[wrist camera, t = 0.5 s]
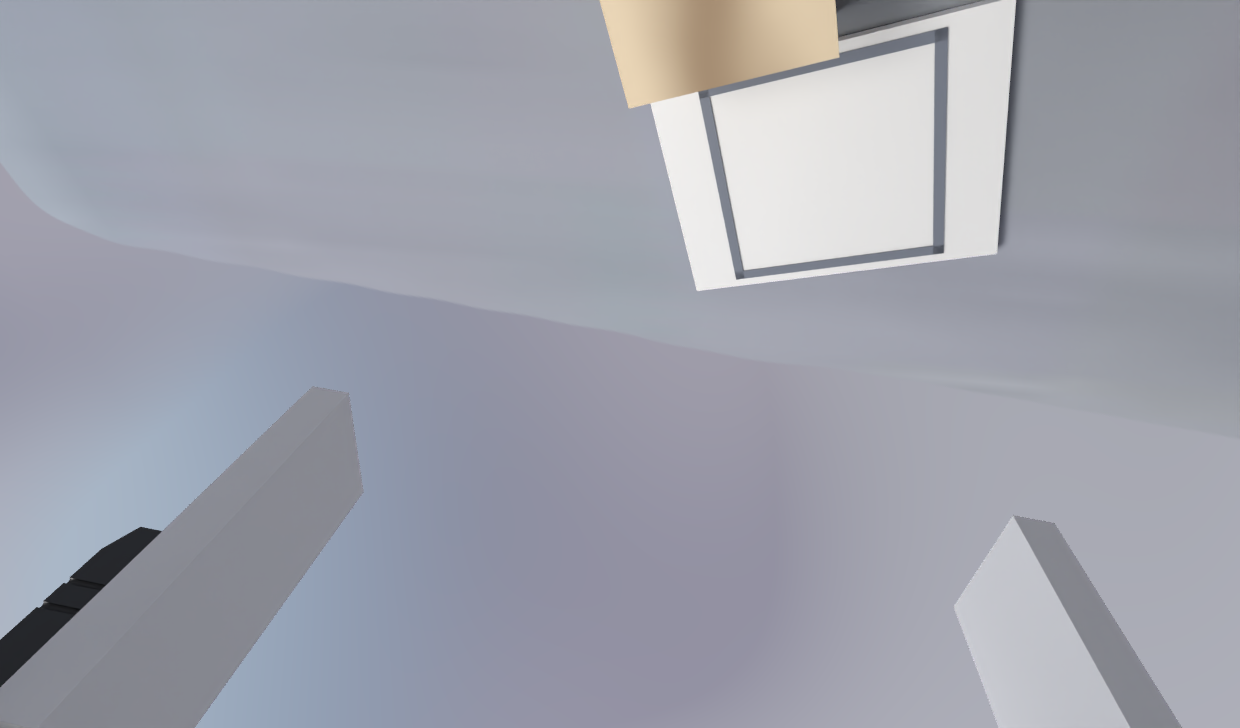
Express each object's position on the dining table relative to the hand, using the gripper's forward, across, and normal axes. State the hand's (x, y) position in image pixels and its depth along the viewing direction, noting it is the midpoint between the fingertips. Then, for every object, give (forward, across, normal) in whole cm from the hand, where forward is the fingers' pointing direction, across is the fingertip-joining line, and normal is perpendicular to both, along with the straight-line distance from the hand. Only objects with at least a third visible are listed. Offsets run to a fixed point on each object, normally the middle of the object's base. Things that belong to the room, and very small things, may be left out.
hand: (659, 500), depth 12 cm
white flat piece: (+24, +6, +2) cm, 25 cm away
